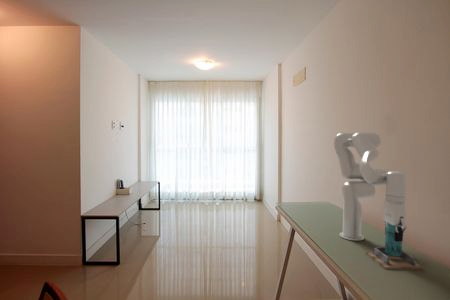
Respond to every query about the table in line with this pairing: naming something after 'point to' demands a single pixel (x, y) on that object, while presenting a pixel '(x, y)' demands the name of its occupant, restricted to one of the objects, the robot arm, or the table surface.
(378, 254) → the tray
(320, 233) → the table surface
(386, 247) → the beverage bottle
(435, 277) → the table surface
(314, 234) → the table surface
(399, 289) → the table surface
